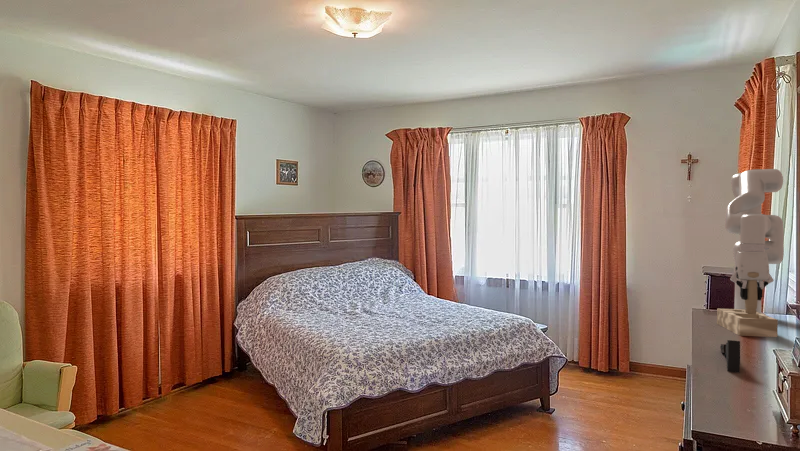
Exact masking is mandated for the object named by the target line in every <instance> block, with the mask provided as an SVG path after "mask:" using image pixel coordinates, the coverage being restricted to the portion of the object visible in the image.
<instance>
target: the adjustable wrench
mask: <svg viewBox="0 0 800 451" xmlns="http://www.w3.org/2000/svg"><path fill="white" fill-rule="evenodd" d="M726 341H727V342H725V344H723V343H721V344H720V347H719V348H720V353H723V354H724V358H725V360H726V369H727V372H728V371H729V372H730V373H737V374H740V367H741V364H740V363H741V341H739V340H730V339H729V340H728V339H727V340H726ZM729 372H728V373H729Z"/></svg>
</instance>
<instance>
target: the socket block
mask: <svg viewBox="0 0 800 451" xmlns="http://www.w3.org/2000/svg"><path fill="white" fill-rule="evenodd" d="M761 313H762V312H761ZM761 313H759V312H756V314H748V313H746V311H745V309H734V308H717V309H716V324H717V325H718V326H720V327H722V328H724V329H726V330H728V331H730V332H731V333H734V334H736V335H738V336H743V337H744V336H747V337H748V336H749V337H764V338H765V337H769V338H777V337H778V324H779V323H778V321H779V320H778V319H777V318H774V317H771V316H769V315H764V314H765V313H764V314H761Z"/></svg>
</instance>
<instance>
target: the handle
mask: <svg viewBox="0 0 800 451" xmlns="http://www.w3.org/2000/svg"><path fill="white" fill-rule="evenodd" d="M748 276H749V277H751V278H756V277H759V273H748ZM746 289H747V300H745V308H746V309H745V311H746V313H748V314H756V312H757V310H756V309H757V303H758V302H757V301H758V293H757V280H747V284H746Z"/></svg>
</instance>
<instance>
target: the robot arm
mask: <svg viewBox="0 0 800 451" xmlns="http://www.w3.org/2000/svg"><path fill="white" fill-rule="evenodd" d="M730 185H731V191H732V194H733V196H734V199H732V200H731V201H730V202H729V204H728V205H727V206H726V209H725V212H724V213H725V215H724V216H725V217H724V227H725V229H726V231H727V233H729V234H735V235H737V234H738V235H739V238H740V239H739V241H737V242H735V243H734V245H733V247H732V253H733V259H734V260H733V261H734V266H733V274H732V275H731V276H730V278H729V279H730V281H731V282H733V283H734V302H733V303H734V304H733V305H734V307H733V309H746V308H745V300H747V289H746V284H747V280H757V293H758V301H757V302H758V303H757V309H756V310H757V312H759V313H761V314H764V315H766V313H763V312H762V299H763V292H764V289H765V288H766V287H767V286H768V285H770V284H771V283H773V282H774V278H773V277H772V275H771V273H770V265H779V264H781V263H783V260H784V256H785V254H784V253H785V252H784V250H785V249H784V247H785V244H784V243H785V242H784V238H785V237H784V233H785V230H784V222H783V219H782V218H781V216H779V215H776V214H763V213H762V209H763V208H762V205H763V203H764V202H765V199H766V195H765V194H766V193H778V192H779V191H780V190H781V189H782V188H783V185H784V176H783V173H782V172H781V170H779V169H776V168H763V169H761V168H760V169H759V168H757V169H756V168H755V169H748V170H747V169H746V170H745V171H743V172H739V173H735V174H734V175H732V176H731V178H730ZM766 239H768V240H766ZM748 273H759V277H756V278H751V277H749V276H748ZM766 316H767V315H766Z"/></svg>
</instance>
